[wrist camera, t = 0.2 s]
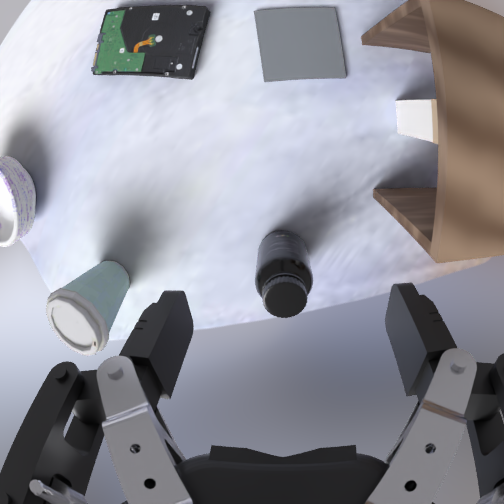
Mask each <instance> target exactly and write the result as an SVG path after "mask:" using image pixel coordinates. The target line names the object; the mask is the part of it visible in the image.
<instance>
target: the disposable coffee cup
mask: <svg viewBox="0 0 504 504" xmlns="http://www.w3.org/2000/svg"><path fill="white" fill-rule="evenodd" d="M129 284H130V281H129V275H128V273H127V272H126V270H125V268H124V267H123V266H122V265H120V264H119V263H117V262H116V261H109V260H107V261H103V262H102V263H100V264H98V265H96V266H95V267H93V268H92V269H90V270H89V271H87V272H86V273H84V274H82V275H81V276H79V277H78V278H76V279H75V280H73V281H72V282H70V283H69V284H67V285H66V286H64V287H63V288H60V289H58V290H56V291H55V292H53V293H51V294H50V296H49V297H48V301H47V306H46V313H47V317H48V320H49V323H50V326H51V328H52V329H53V331H54V332H55V333H56V335H57V336H58V338H59V339H60V340H61V341H62V342H63V343H64V344H65V345H67V346H68V347H69V348H70V349H72V350H73V351H75V352H77V353H80V354H82V355H85V356H88V355H94V354H96V352H98V351H102V350H103V348H104V347H105V346H106V344H107V342H108V340H109V332H110V329H111V327H112V324H113V322H114V320H115V318H116V315H117V313H118V311H119V308H120V306H121V304H122V302H123V299H124V297H125V295H126V293H127V291H128V289H129V286H130V285H129Z"/></svg>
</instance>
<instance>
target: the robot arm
mask: <svg viewBox="0 0 504 504" xmlns="http://www.w3.org/2000/svg"><path fill="white" fill-rule="evenodd" d="M385 322H386V323H385V324H386V330H387V333H388V336H389V339H390V342H391V345H392V348H393V351H394V355H395V358H396V361H397V364H398V368H399V371H400V375H401V378H402V381H403V384H404V388H405V392H406V396H412V395H417V397H418V402H417V404H416V406H415V408H414V410H413V412H412V414H411V416H410V417H409V419H408V421H407V423H406V425H405V427H404V429H403V431H402V432H401V434H400V436H399V438H398V440H397V442H396V443H395V445H394V446H393V448H392V449H391V451H390V452H389V454H388V455H387V457H386V458H385V460H384V461H381V460H379V459H377V458H375V457H372V456H369V455H364V454H358V453H356V445H351V446H341V447H330V448H319V449H315V450H312V451H308V452H304V453H301V454H296V455H292V456H287V457H278V456H274V455H270V454H266V453H262V452H258V451H255V450H251V449H247V448H236V447H223V446H213V445H212V446H211V451H210V453H209V454H203V455H199V456H195V457H192V458H189V459H187V460H186V459H185V457H184V456H183V454H182V452H181V451H180V449H179V448H178V446H177V444H176V442H175V441H174V438H173V436H172V434H171V432H170V430H169V428H168V426H167V424H166V422H165V420H164V418H163V416H162V414H161V411H160V409H159V407H158V406H157V404H158V401H159V399H160V398H164V399H170V398H171V396H172V392H173V390H174V387H175V384H176V381H177V378H178V375H179V372H180V369H181V366H182V364H183V361H184V358H185V355H186V352H187V349H188V346H189V343H190V341H191V338H192V335H193V319H192V316H191V312H190V309H189V305H188V302H187V298H186V295H185V293H184V291H164V292H163V293H162V295H161V297H160V299H159V300H158V302H157V303H152V304H151V305H150V306H149V307H148V308H146V309H145V310H144V311H143V313H142V315H141V316H140V318H139V322H137V323H136V325H135V327H134V329H133V331H132V332H131V334H130V336H129V338H128V339H127V341H126V343H125V345H124V347H123V349H122V350H121V353H120V354H119V356H114V357H111V358H108V359H107V360H105V361H104V362H103V363H102V364H101V365H100V366H99V368H98V370H89V371H79V369H78V368H77V366H76V365H75V364H74V363H72V362H62V363H59V364H57V365H56V366H55V367H53V368H52V370H51V371H50V372H49V374H48V376H47V378H46V379H45V381H44V383H43V385H42V387H41V388H40V390H39V392H38V394H37V396H36V397H35V399H34V401H33V403H32V405H31V407H30V409H29V411H28V413H27V415H26V417H25V419H24V421H23V423H22V425H21V427H20V429H19V431H18V433H17V435H16V438H15V440H14V442H13V444H12V446H11V449H10V451H9V453H8V456H7V458H6V460H5V463H4V465H3V468H2V470H1V473H0V504H88V503H87V500H86V499H85V497H84V496H85V493H86V490H87V486H88V483H89V480H90V476H91V473H92V470H93V467H94V464H95V461H96V458H97V455H98V452H99V449H100V446H101V443H102V440H103V437H104V435H105V439H106V442H107V445H108V449H109V452H110V455H111V458H112V461H113V464H114V467H115V470H116V473H117V476H118V478H119V481H120V483H121V486H122V489H123V491H124V494H125V496H126V499H127V501H125V502H123V503H122V504H435V503H433V500H434V498H435V496H436V494H437V492H438V490H439V488H440V486H441V484H442V482H443V480H444V478H445V476H446V474H447V472H448V470H449V467H450V465H451V463H452V461H453V458H454V456H455V453H456V451H457V448H458V446H459V443H460V441H461V438H462V435H463V432H464V429H465V427H466V425H467V429H468V433H469V437H470V441H471V446H472V450H473V456H474V460H475V466H476V472H477V478H478V485H479V492H480V499H479V500H478V502H477V504H504V424H503V421H502V417H501V414H500V412H499V411H500V409H501V411H502V414H503V417H504V354H502V355H500V356H499V357H498V359H497V360H496V362H495V364H491V363H479V362H476V361H475V359H474V357H473V356H472V355H471V354H470V353H468V352H467V351H465V350H463V349H459V348H457V346H456V344H455V342H454V340H453V338H452V336H451V334H450V332H449V330H448V328H447V326H446V325H445V323H444V321H443V319H442V317H441V315H440V314H439V313H438V310H437V308H436V306H435V305H434V303H433V302H432V301H431V300H430V299H429V298H427V297H426V296H425V295H419V294H418V292H417V290H416V288H415V286H414V285H413V284H412V283H401V284H393V286H392V288H391V293H390V298H389V303H388V308H387V312H386V318H385ZM71 412H72V413H73V414H74V417H73V419H72V422H71V424H70V427H69V429H68V431H67V434H66V436H65V438H64V436H63V431H64V428H65V425H66V423H67V421H68V419H69V416H70V414H71Z"/></svg>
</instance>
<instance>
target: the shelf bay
mask: <svg viewBox="0 0 504 504" xmlns="http://www.w3.org/2000/svg"><path fill="white" fill-rule="evenodd" d="M361 39H362V45H371V46H382V47H392V48H400V49H407V50H414V51H420V52H426V53H431V57H432V64H433V71H434V79H435V89H436V101H437V117H438V179H437V188H387V189H373V198H374V199H375V200H377V201H378V202H379V203H380V204H381V205H382V206H383V207H384V208H385V209H386V210H387V211H388V212H389V213H390V214H391V215H392V216H393V217H394V218H395V219H396V220H397V221H398V222H399V223H400V224H401V225H402V226H403V227H404V228H405V229H406V230H407V231H408V232H409V234H410V235H411V236H412V237H413V238H414V239H415V240H416V241H417V242H418V243H419V244H420V245H421V246H422V247H423V249H424V250H425V251H426V252H427V253H428V254H429V255H430V256H431V258H432V259H433V260H434V261H435V262H436V263H443V262H452V261H460V260H469V259H477V258H484V257H492V256H499V255H504V17H503V16H501V15H499V14H496V13H494V12H492V11H489V10H487V9H485V8H483V7H480V6H478V5H475V4H473V3H470V2H467V1H465V0H408V1H407V2H405V3H404V4H403V5H401V6H400V7H398V8H397V9H396V10H394V11H393V12H392V13H390V14H389V15H388V16H387V17H385V18H384V19H383V20H381V21H380V22H379V23H378V24H376V25H375V26H374V27H373V28H371V29H370V30H369V31H368V32H366V33H365V34H364V35H363V36H361Z"/></svg>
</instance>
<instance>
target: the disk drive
mask: <svg viewBox="0 0 504 504" xmlns="http://www.w3.org/2000/svg"><path fill="white" fill-rule="evenodd" d="M209 15H210V11H209V10H208V8H207V7H206V6H193V5H186V6H183V5H163V6H162V5H161V6H139V7H124V8H117V9H108V10H106V12H105V15H104V18H103V22H102V25H101V29H100V34H99V35H98V40H97V42H99V44H97V48H96V51H97V52H95V57H94V62H93V66H94V67H92V68H91V69H92V70H91V71H93V75H139V76H159V77H171V78H178V79H191V80H192V79H193V77H194V73H195V68H196V65H197V60H198V56H199V53H200V49H201V45H202V41H203V37H204V33H205V30H206V26H207V22H208V18H209Z"/></svg>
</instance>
